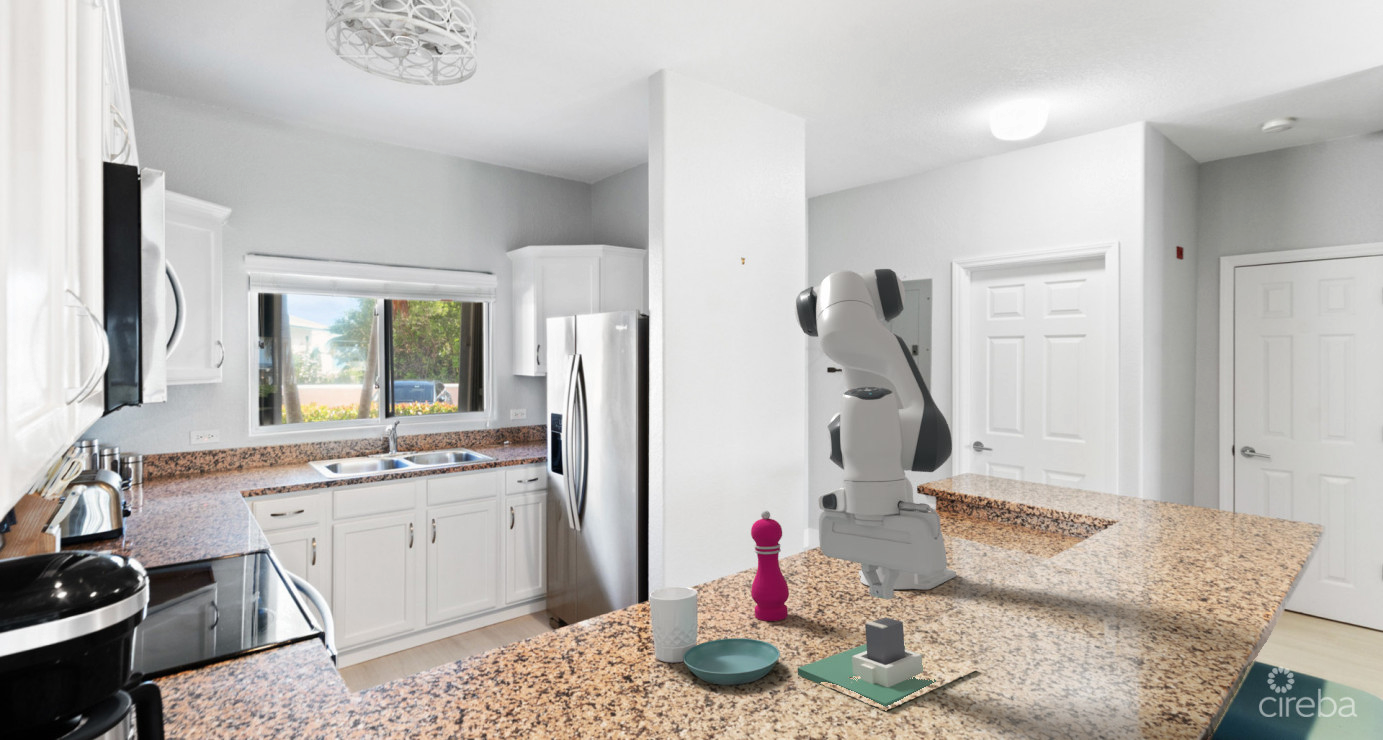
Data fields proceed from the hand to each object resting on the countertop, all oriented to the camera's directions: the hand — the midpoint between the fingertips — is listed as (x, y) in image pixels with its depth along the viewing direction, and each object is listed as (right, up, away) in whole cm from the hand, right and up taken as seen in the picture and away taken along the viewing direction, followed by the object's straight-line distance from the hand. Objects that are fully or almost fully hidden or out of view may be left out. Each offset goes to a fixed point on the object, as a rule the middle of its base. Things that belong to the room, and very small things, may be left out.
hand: (881, 597), depth 93 cm
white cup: (-30, -14, +13) cm, 36 cm away
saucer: (-21, -14, +6) cm, 26 cm away
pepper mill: (-12, -15, +32) cm, 37 cm away
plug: (+1, -11, -1) cm, 11 cm away
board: (+1, -12, +2) cm, 12 cm away
